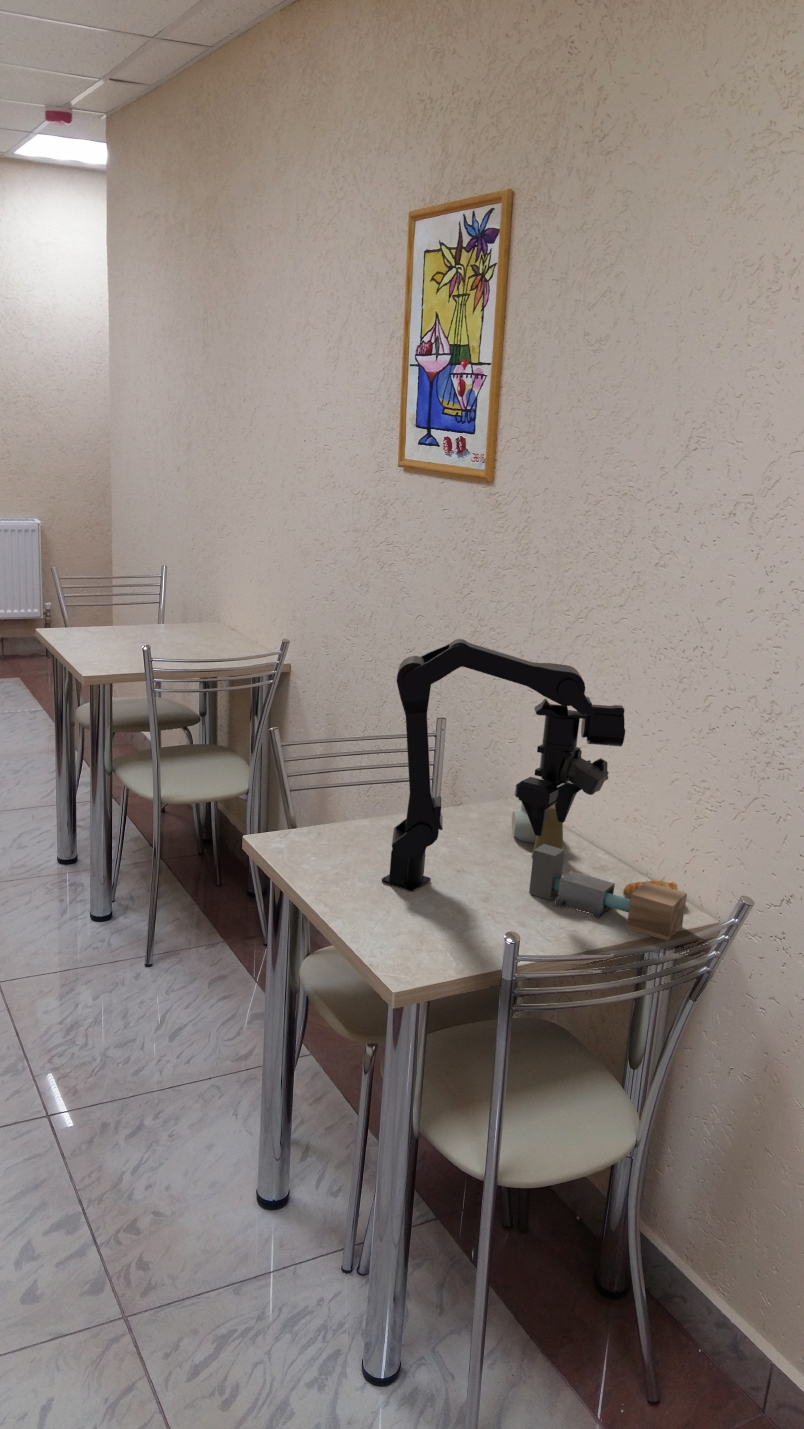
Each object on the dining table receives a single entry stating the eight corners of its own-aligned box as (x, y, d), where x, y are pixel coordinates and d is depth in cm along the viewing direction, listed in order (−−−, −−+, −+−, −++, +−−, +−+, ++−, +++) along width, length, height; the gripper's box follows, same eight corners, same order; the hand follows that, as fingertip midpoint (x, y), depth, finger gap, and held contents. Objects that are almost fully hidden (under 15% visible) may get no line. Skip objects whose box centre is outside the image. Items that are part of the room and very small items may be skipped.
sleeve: (598, 918, 184) (602, 893, 183) (555, 905, 188) (558, 880, 187) (613, 906, 189) (616, 881, 188) (570, 894, 193) (573, 869, 192)
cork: (553, 867, 205) (559, 811, 202) (525, 858, 208) (531, 802, 206) (569, 859, 210) (575, 804, 207) (541, 850, 213) (547, 796, 210)
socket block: (667, 940, 177) (672, 906, 176) (626, 928, 181) (631, 894, 180) (682, 926, 183) (687, 893, 182) (641, 914, 187) (646, 881, 185)
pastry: (623, 905, 191) (626, 884, 190) (621, 890, 197) (623, 870, 196) (679, 911, 190) (682, 891, 189) (674, 896, 196) (677, 876, 196)
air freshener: (556, 850, 214) (562, 801, 212) (514, 846, 214) (519, 797, 212) (550, 830, 225) (555, 783, 222) (509, 827, 225) (514, 780, 222)
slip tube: (658, 932, 180) (665, 887, 178) (529, 893, 192) (533, 850, 190) (667, 924, 183) (673, 879, 181) (539, 886, 195) (543, 843, 193)
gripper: (581, 762, 174) (570, 855, 178) (625, 740, 190) (614, 826, 193) (518, 748, 180) (508, 838, 184) (566, 727, 195) (556, 811, 199)
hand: (549, 828), depth 190 cm, fingers open, 9 cm apart
